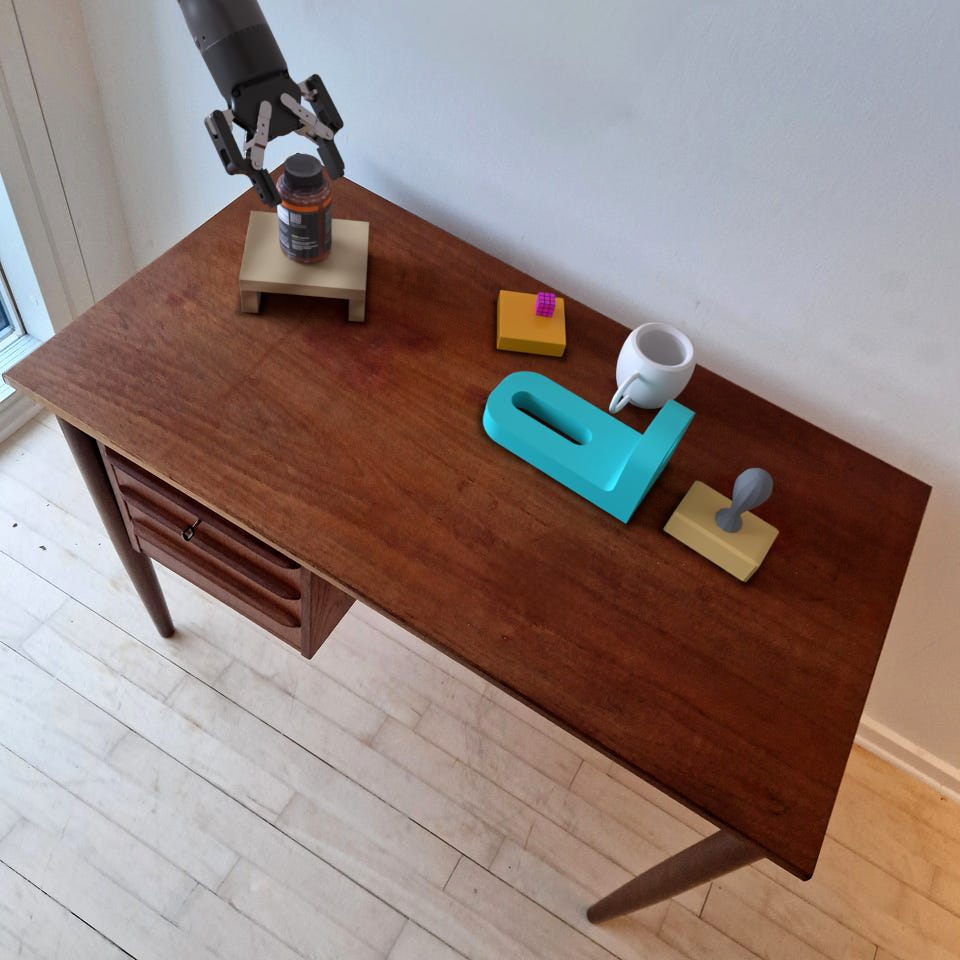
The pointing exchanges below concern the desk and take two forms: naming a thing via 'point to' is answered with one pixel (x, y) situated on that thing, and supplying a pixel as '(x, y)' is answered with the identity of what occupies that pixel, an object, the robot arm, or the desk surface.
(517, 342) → the orange block
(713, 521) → the rubber stamp
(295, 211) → the supplement bottle
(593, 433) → the bracket
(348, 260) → the stand
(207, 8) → the robot arm
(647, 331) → the mug
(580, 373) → the desk surface
